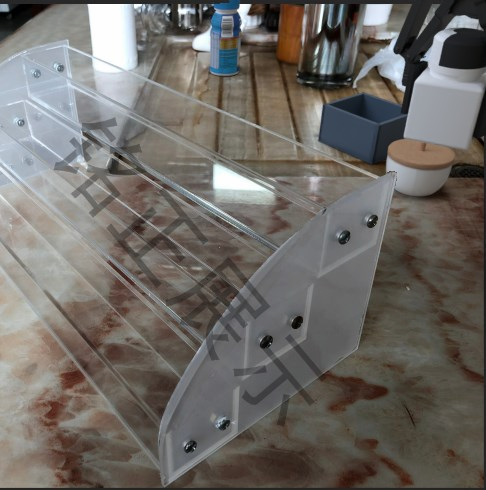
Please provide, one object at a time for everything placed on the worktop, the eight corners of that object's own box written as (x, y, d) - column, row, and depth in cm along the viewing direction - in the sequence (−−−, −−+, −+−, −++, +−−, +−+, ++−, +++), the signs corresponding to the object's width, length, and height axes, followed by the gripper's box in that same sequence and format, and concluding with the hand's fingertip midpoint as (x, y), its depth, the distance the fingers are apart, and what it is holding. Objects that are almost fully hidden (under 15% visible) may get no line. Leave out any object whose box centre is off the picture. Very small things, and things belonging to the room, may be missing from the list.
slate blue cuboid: (411, 149, 120) (371, 164, 114) (357, 127, 130) (317, 141, 124) (420, 111, 115) (378, 125, 110) (363, 91, 125) (322, 104, 120)
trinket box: (446, 183, 108) (459, 134, 102) (442, 210, 99) (456, 159, 94) (384, 173, 111) (394, 125, 106) (376, 198, 103) (386, 149, 98)
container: (478, 130, 78) (506, 27, 71) (467, 151, 73) (496, 43, 65) (417, 119, 82) (438, 20, 74) (402, 139, 76) (423, 35, 69)
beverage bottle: (203, 73, 164) (204, -4, 153) (220, 65, 169) (223, -10, 158) (228, 79, 159) (231, -1, 148) (245, 71, 164) (250, -6, 153)
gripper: (383, -78, 70) (354, 105, 82) (585, -64, 54) (512, 159, 67) (422, -83, 73) (389, 93, 86) (622, -71, 58) (547, 142, 70)
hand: (443, 122), depth 76 cm, fingers closed on container, 9 cm apart
